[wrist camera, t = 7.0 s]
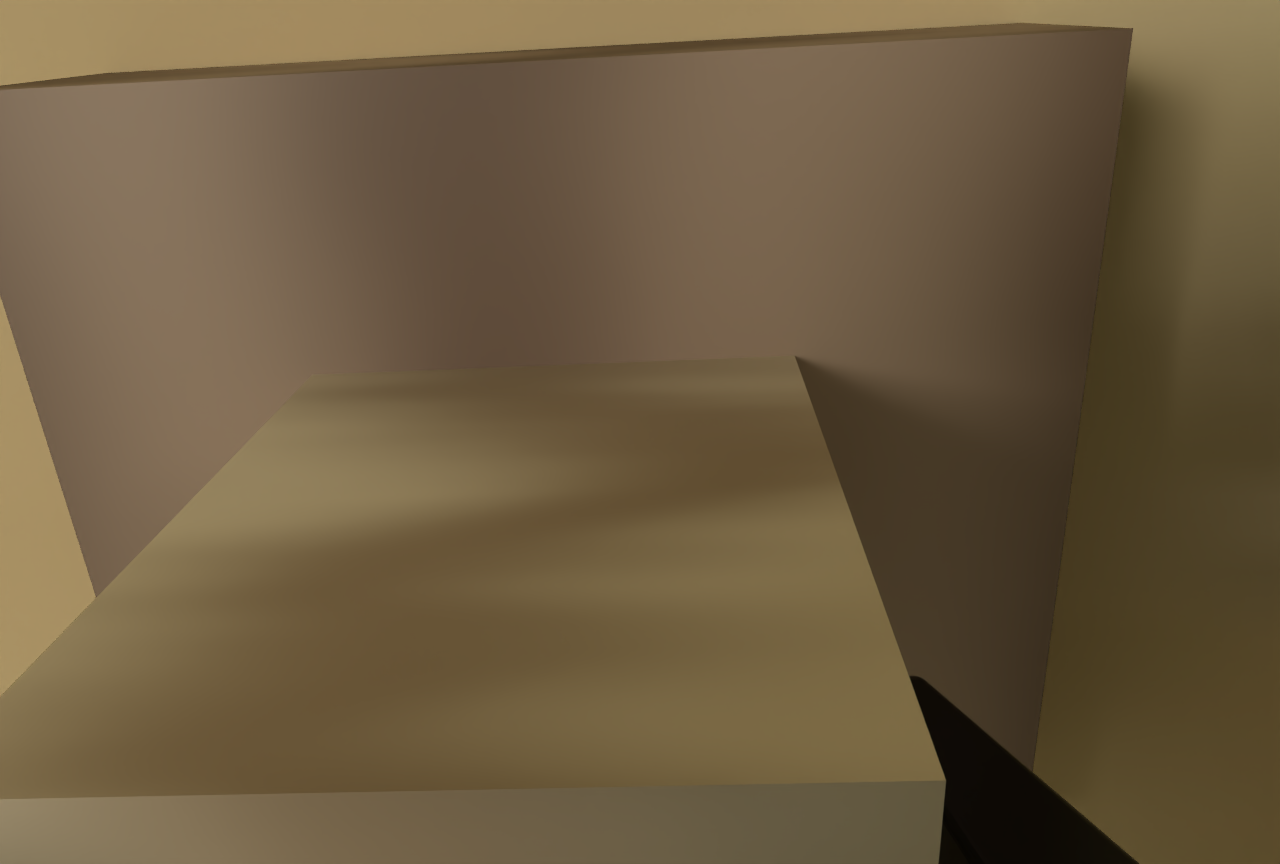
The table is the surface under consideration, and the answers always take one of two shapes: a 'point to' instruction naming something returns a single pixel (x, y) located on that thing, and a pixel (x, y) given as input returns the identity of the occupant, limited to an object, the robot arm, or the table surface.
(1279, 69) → the table surface
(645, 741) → the beige cube
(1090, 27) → the pedestal
